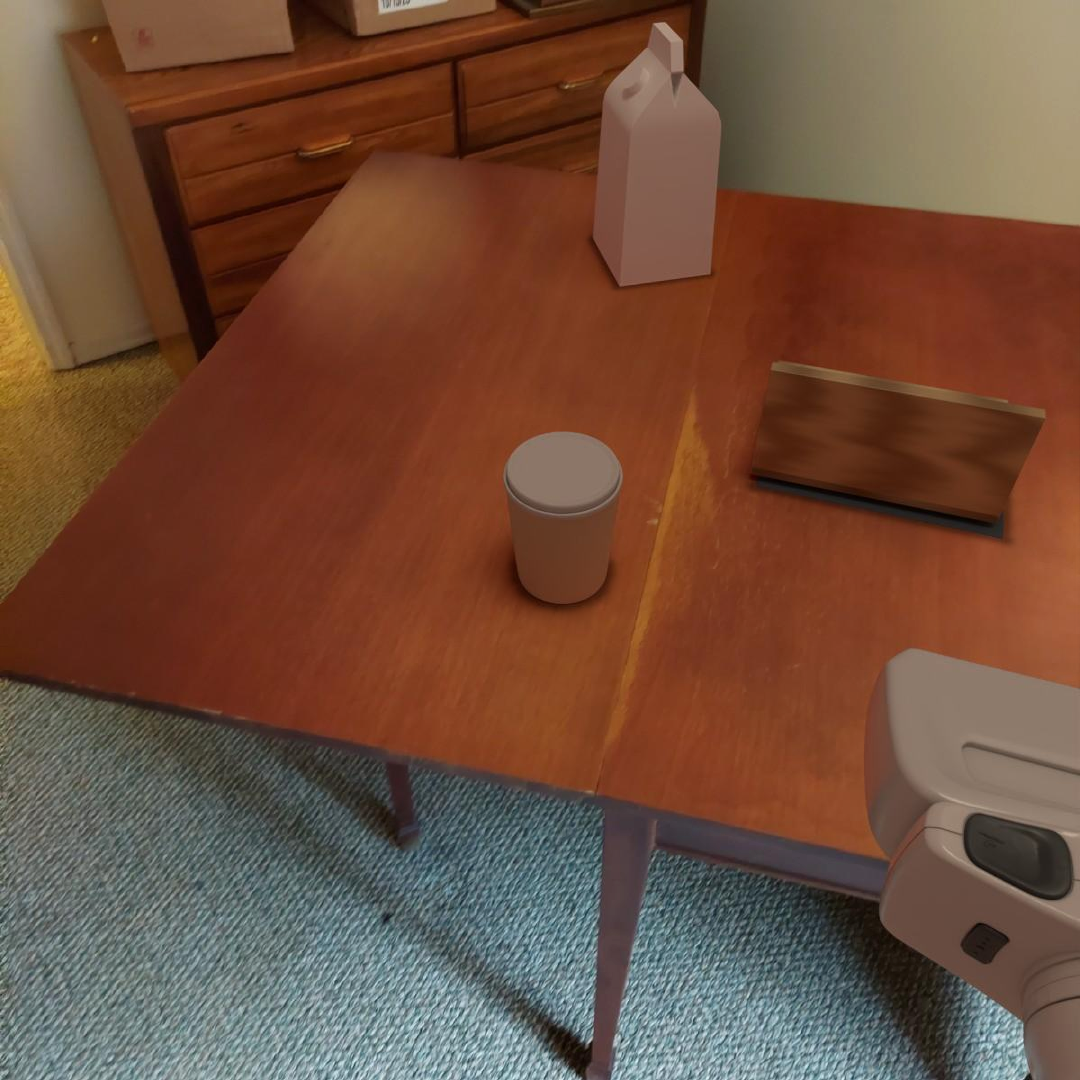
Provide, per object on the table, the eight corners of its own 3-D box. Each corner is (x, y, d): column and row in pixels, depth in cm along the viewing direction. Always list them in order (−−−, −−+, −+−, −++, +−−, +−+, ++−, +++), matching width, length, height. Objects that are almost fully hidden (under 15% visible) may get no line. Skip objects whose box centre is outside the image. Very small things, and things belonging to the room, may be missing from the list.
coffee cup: (638, 568, 83) (647, 464, 74) (566, 630, 78) (567, 527, 69) (558, 517, 87) (558, 413, 79) (486, 573, 83) (477, 469, 74)
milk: (710, 274, 116) (740, 46, 98) (619, 286, 114) (632, 57, 96) (678, 227, 124) (699, 8, 106) (592, 238, 123) (599, 18, 104)
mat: (1003, 418, 97) (1004, 417, 97) (1002, 540, 85) (1003, 538, 85) (785, 378, 102) (785, 376, 102) (755, 487, 90) (756, 485, 90)
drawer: (993, 433, 95) (1040, 324, 86) (993, 529, 86) (1046, 418, 76) (771, 393, 100) (793, 285, 91) (748, 479, 91) (770, 369, 81)
